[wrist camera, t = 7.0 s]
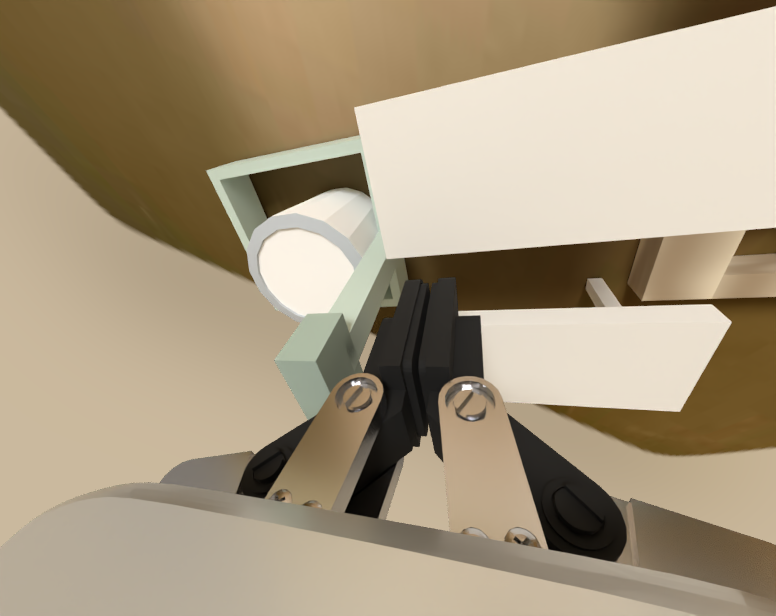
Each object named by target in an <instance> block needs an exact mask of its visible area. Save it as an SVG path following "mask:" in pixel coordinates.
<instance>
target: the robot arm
mask: <svg viewBox="0 0 776 616" xmlns="http://www.w3.org/2000/svg"><path fill="white" fill-rule="evenodd" d="M428 424H429V428H430V432H431V437H432V441H433V445H434V451H435V453H436V454H437V456H438V457H439V458H440V459H441V460H442V462H443V463H444V473H445V483H446V495H447V506H448V518H449V529H450V532H449V531H443V530H438V529H432V528H427V527H421V526H415V525H409V524H404V523H399V522H393V521H387V520H386V517H387V514H388V511H389V507H390V504H391V501H392V498H393V495H394V492H395V488H396V485H397V483H398V480H399V476H400V473H401V470H402V467H403V462H404V456H405V455H407V454H408V453H409V452H411V451H412V449H413V446H415V447H419V446H420V438H421V436H427V432H428ZM0 616H776V545H774V544H772V543H769V542H766V541H763V540H760V539H756V538H753V537H750V536H747V535H744V534H741V533H737V532H734V531H731V530H728V529H725V528H722V527H719V526H716V525H713V524H710V523H707V522H704V521H700V520H697V519H694V518H691V517H688V516H685V515H682V514H679V513H675V512H673V511H669V510H666V509H663V508H660V507H657V506H654V505H651V504H648V503H645V502H642V501H638V500H635V499H632V498H631V499H630V501H629V502H627V501H624V500H621V499H617V498H614V497H611V496H609V495H608V494H607V493H606V492H605V491H604V490H603V489H602V488H601V487H600V486H599V485H597V484H596V483H595V482H594V481H592V480H591V479H589V477H587V476H586V475H585V474H583V473H582V472H581V471H580V470H578V469H577V468H576V467H575V466H573V465H572V464H571V463H569V462H568V461H567V460H566V459H565V458H563V457H562V456H561V455H559V454H558V453H557V452H556V451H554V450H553V449H552V448H550V447H549V446H548V445H547V444H546V443H544V442H543V441H542V440H540V439H539V438H538V437H537V436H535V435H534V434H533V433H532V432H530V431H529V430H528V429H527V428H525V427H524V426H523V425H521V424H520V423H519V422H518V421H516V420H515V419H514V418H513V417H511V416H510V415H509V414H508V413H507V412H506V409H505V405H504V402H503V399H502V396H501V394H500V392H499V390H498V389H497V388H496V387H495V386H494V385H493V384H492V383H490V382H488V381H486V380H485V379H484V369H483V351H482V333H481V316H480V315H473V316H459V314H458V302H457V289H456V278H455V277H452V278H439V279H438V283H432V288H431V293H430V290H429V284H428V283H423V281H422V279H420V280H406V281H405V283H404V286H403V289H402V292H401V295H400V298H399V302H398V305H397V308H396V311H395V314H394V317H393V318H384V319H383V321H382V323H381V326H380V328H379V331H378V334H377V336H376V339H375V342H374V345H373V348H372V350H371V353H370V356H369V358H368V361H367V364H366V367H365V370H364V372H363V373H357V374H353V375H350V376H348V377H346V378H344V379H343V380H341V381H340V382H339V383H337V385H336V386H335V387H334V388H333V390H332V391H331V393H330V394H329V396H328V398H327V399H326V401H325V402H324V404H323V406H322V407H321V409H320V410H319V412H318V414H317V415H315V416H314V417H312V418H311V419H309V420H307V421H306V422H304V423H303V424H301V425H300V426H298V427H296V428H295V429H293V430H291V431H290V432H288V433H287V434H285V435H283V436H282V437H280V438H278V439H277V440H275V441H274V442H272V443H270V444H269V445H267V446H266V447H264V448H263V449H261V450H260V451H259V452H258V453H257V454H254V453H253V452H252V451H248V452H241V453H235V454H227V455H220V456H213V457H205V458H198V459H192V460H189V461H185V462H182V463H181V464H179V465H177V466H176V467H174V468H173V469H172V470H171V471H170V472H168V473H167V474H166V475H165V476H164V478H163V479H162V480H161V482H160V483H149V482H148V483H130V484H122V485H117V486H112V487H108V488H104V489H100V490H97V491H94V492H90V493H87V494H84V495H81V496H78V497H75V498H73V499H70V500H68V501H66V502H63V503H61V504H59V505H57V506H55V507H53V508H51V509H49V510H47V511H46V512H44V513H42V514H41V515H39V516H38V517H36V518H35V519H33V520H32V521H30V522H29V523H28V524H27V525H25V526H24V527H23V528H22V529H20V530H19V531H18V532H17V533H16V534H15V535H13V536H12V537H11V538H10V539H9V540H8V541H7V542H6V543H5V544H3V545H2V546H1V547H0Z"/></svg>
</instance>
